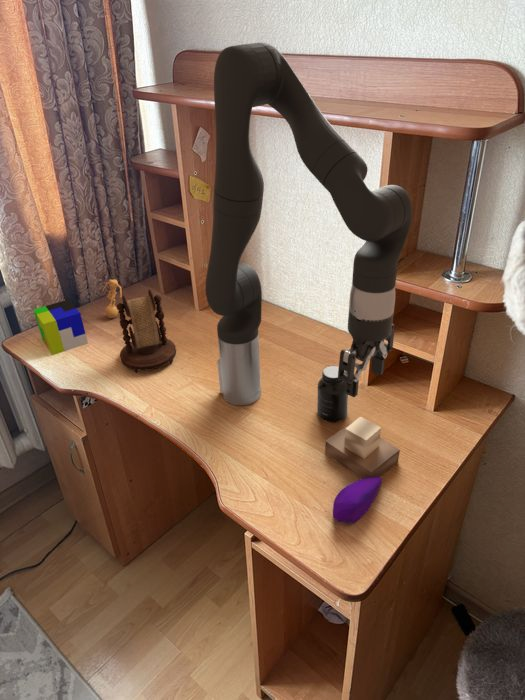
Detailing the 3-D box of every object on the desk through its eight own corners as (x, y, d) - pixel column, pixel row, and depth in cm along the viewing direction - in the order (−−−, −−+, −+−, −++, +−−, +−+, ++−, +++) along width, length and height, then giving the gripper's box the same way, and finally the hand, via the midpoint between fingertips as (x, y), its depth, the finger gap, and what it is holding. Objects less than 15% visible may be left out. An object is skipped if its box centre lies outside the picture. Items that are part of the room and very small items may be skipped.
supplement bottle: (327, 400, 128) (329, 358, 122) (352, 411, 124) (355, 369, 118) (311, 415, 124) (312, 373, 117) (336, 427, 120) (338, 384, 114)
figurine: (98, 316, 166) (90, 281, 159) (113, 308, 170) (106, 273, 163) (117, 323, 162) (109, 287, 155) (132, 315, 166) (125, 280, 159)
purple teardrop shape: (393, 474, 103) (346, 516, 93) (389, 493, 105) (343, 535, 96) (372, 462, 106) (325, 501, 96) (368, 481, 108) (322, 521, 99)
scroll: (128, 380, 137) (113, 312, 126) (116, 352, 149) (102, 287, 138) (183, 365, 142) (174, 298, 131) (168, 339, 154) (158, 275, 143)
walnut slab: (324, 454, 114) (325, 440, 112) (353, 434, 119) (354, 421, 116) (369, 486, 106) (371, 472, 104) (397, 463, 111) (399, 449, 109)
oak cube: (344, 446, 110) (345, 428, 107) (358, 434, 113) (360, 416, 110) (364, 459, 107) (366, 440, 104) (378, 446, 110) (381, 427, 107)
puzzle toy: (88, 343, 153) (80, 312, 148) (52, 355, 149) (43, 324, 143) (76, 328, 160) (68, 299, 155) (42, 339, 156) (33, 309, 150)
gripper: (375, 286, 98) (368, 359, 107) (328, 316, 89) (324, 394, 98) (412, 298, 93) (401, 374, 102) (366, 332, 85) (359, 411, 94)
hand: (364, 383), depth 100 cm, fingers open, 8 cm apart
